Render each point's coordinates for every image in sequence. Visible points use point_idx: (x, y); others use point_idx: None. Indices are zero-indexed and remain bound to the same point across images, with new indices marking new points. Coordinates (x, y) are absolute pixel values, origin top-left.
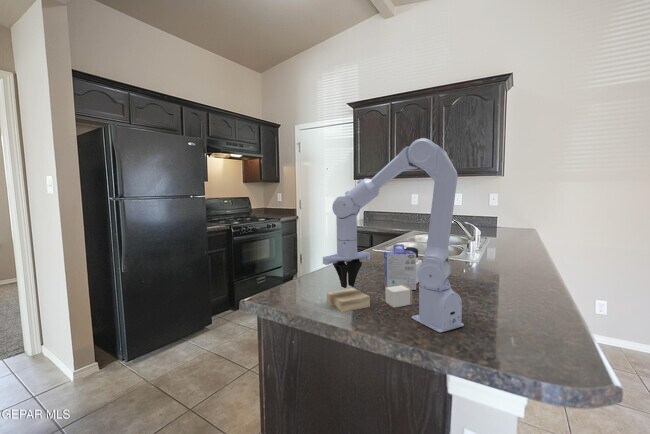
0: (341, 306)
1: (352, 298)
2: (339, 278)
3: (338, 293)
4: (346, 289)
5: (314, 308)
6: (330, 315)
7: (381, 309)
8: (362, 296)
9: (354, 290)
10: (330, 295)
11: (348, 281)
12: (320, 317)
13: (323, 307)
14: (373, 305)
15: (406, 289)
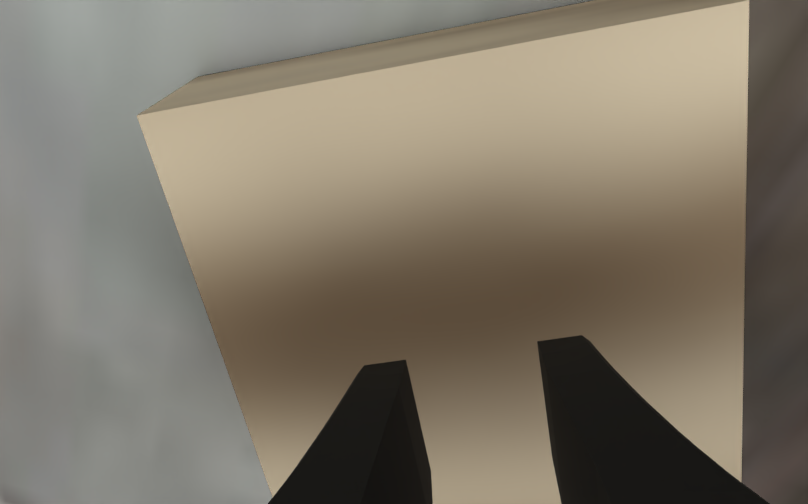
0: None
1: (471, 483)
2: (300, 472)
3: (337, 236)
4: (566, 60)
5: (9, 231)
6: (181, 457)
7: (763, 482)
8: None
9: (682, 172)
10: (190, 255)
11: (549, 386)
12: (74, 468)
13: (128, 235)
14: (759, 364)
15: None
